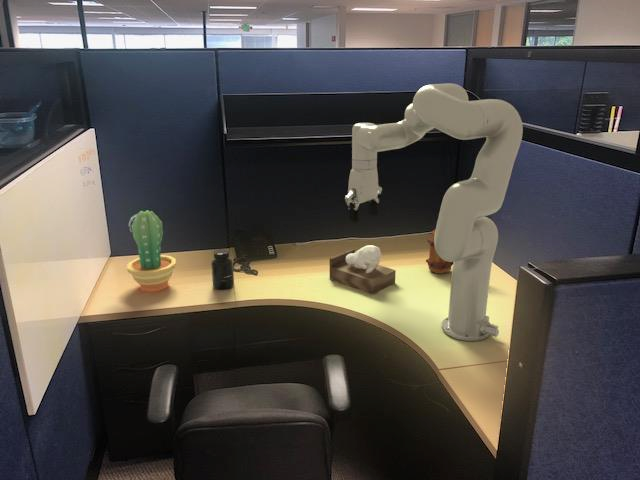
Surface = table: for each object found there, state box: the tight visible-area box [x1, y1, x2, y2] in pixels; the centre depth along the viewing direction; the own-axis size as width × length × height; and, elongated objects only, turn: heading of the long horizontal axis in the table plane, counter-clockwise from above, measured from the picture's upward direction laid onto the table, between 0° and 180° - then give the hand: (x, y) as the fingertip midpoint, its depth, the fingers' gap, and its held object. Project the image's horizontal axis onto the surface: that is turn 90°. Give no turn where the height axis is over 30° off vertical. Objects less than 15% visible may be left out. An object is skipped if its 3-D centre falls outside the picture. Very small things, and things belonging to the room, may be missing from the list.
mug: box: [425, 229, 454, 274], centre depth 174 cm, size 15×8×15 cm, turn 62°
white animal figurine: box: [346, 244, 382, 274], centre depth 167 cm, size 6×8×12 cm
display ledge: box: [329, 248, 397, 295], centre depth 169 cm, size 18×12×8 cm, turn 47°
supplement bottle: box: [210, 248, 235, 291], centre depth 165 cm, size 7×7×12 cm
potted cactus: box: [126, 209, 177, 293], centre depth 164 cm, size 15×15×25 cm
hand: (363, 218), depth 163 cm, fingers open, 9 cm apart
